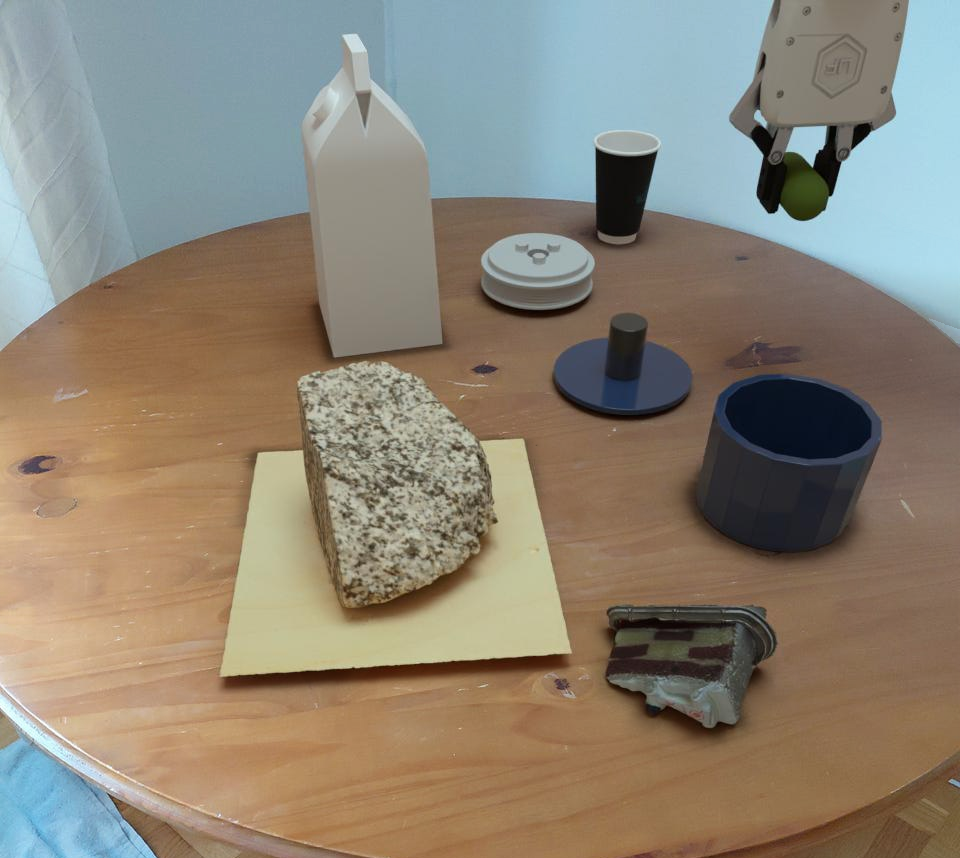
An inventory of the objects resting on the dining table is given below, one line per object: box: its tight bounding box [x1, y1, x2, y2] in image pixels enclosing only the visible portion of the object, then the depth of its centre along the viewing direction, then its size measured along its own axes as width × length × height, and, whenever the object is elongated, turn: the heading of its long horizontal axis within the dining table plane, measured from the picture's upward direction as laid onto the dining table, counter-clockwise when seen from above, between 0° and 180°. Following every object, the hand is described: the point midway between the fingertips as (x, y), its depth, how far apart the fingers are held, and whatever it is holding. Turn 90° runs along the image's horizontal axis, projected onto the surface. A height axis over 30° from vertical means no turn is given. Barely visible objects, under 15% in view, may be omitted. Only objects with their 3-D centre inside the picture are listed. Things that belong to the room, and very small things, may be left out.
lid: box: [480, 232, 596, 311], centre depth 100 cm, size 13×13×5 cm
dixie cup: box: [592, 129, 662, 245], centre depth 108 cm, size 8×8×11 cm
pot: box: [695, 373, 883, 553], centre depth 72 cm, size 13×13×8 cm
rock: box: [219, 360, 573, 678], centre depth 70 cm, size 28×22×16 cm
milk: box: [301, 33, 444, 359], centre depth 87 cm, size 12×12×26 cm
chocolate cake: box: [605, 603, 779, 729], centre depth 60 cm, size 10×7×12 cm
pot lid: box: [553, 312, 693, 416], centre depth 86 cm, size 14×14×6 cm
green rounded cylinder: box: [779, 151, 830, 222], centre depth 77 cm, size 9×4×4 cm, turn 5°
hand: (791, 204), depth 78 cm, fingers closed on green rounded cylinder, 3 cm apart
